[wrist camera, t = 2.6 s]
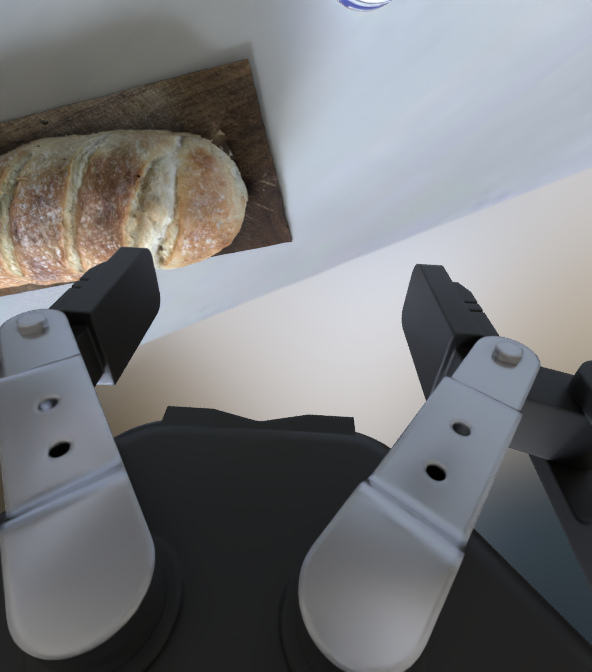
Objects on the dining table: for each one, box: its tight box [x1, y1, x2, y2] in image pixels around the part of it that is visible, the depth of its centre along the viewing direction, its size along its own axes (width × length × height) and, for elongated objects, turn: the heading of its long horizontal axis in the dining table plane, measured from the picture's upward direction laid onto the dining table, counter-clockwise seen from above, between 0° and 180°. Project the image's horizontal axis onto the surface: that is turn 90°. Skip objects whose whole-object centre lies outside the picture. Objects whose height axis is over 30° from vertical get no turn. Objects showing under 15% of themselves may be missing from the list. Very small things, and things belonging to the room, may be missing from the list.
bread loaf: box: [0, 59, 292, 296], centre depth 30 cm, size 35×18×9 cm, turn 108°
